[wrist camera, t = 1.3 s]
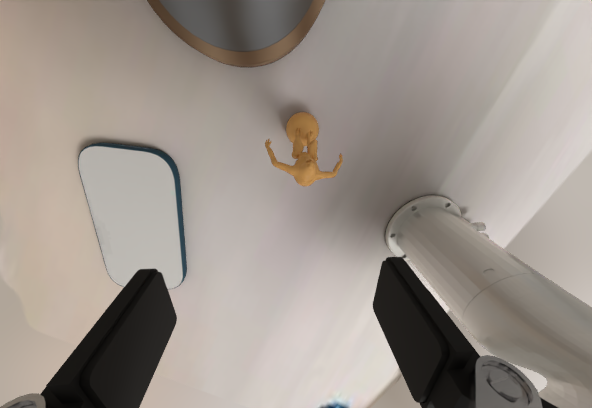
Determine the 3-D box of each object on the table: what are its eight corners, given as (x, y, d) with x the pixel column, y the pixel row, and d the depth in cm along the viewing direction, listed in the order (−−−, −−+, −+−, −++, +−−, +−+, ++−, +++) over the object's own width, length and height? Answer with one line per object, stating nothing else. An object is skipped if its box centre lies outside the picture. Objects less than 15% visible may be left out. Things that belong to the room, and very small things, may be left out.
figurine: (335, 118, 29) (370, 133, 18) (322, 162, 31) (347, 198, 21) (271, 103, 27) (270, 110, 17) (264, 151, 30) (258, 183, 19)
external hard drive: (189, 282, 40) (185, 291, 38) (118, 278, 38) (110, 288, 36) (179, 149, 29) (173, 153, 28) (81, 137, 28) (68, 140, 26)
